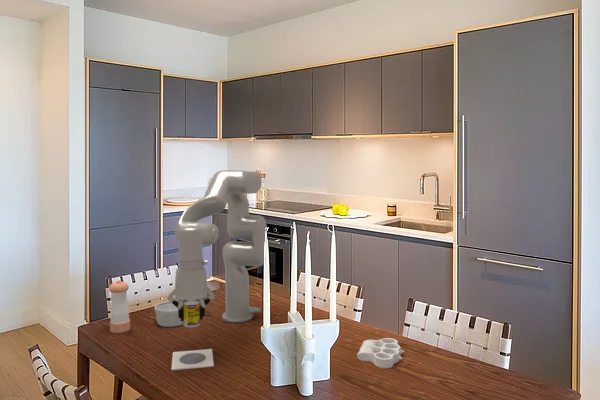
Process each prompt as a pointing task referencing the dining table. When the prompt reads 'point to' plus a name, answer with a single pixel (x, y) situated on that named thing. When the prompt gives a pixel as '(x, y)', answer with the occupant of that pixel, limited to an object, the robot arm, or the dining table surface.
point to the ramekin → (167, 314)
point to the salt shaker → (119, 307)
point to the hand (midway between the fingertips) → (191, 318)
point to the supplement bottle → (191, 313)
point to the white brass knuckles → (381, 352)
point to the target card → (192, 359)
